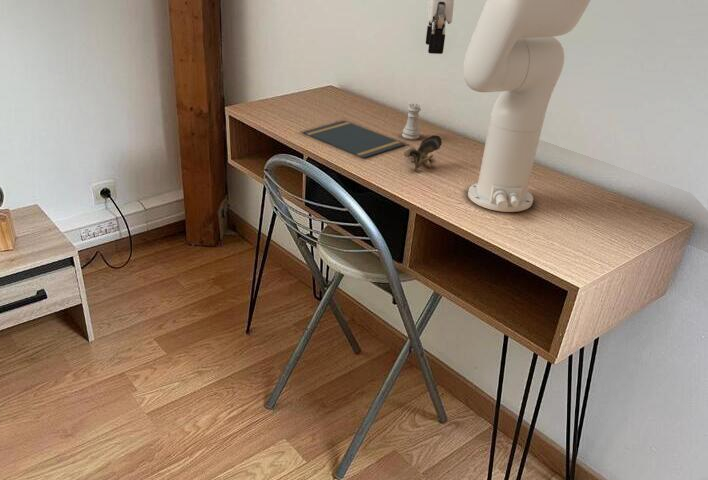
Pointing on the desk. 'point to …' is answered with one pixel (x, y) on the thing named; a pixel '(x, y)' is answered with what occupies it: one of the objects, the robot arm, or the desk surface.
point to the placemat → (354, 139)
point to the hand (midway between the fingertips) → (433, 48)
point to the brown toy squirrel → (424, 151)
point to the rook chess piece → (412, 123)
